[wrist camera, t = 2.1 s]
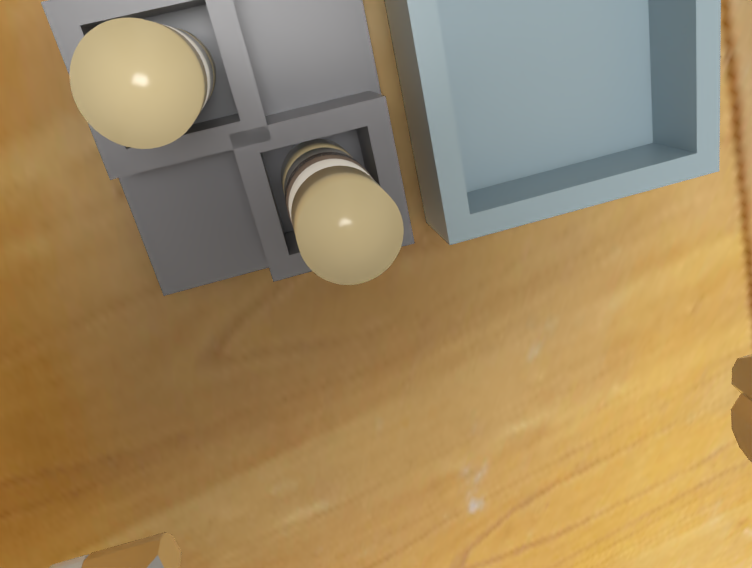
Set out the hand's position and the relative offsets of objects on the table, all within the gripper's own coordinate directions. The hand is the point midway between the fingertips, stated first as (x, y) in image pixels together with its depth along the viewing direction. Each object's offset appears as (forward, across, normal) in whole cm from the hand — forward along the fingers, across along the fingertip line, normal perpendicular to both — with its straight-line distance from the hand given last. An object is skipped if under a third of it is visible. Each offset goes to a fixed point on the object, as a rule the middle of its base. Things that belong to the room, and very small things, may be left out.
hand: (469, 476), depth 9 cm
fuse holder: (+24, +2, -2) cm, 24 cm away
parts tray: (+24, -12, -2) cm, 27 cm away
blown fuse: (+23, 0, 0) cm, 23 cm away
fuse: (+23, +5, -6) cm, 24 cm away
